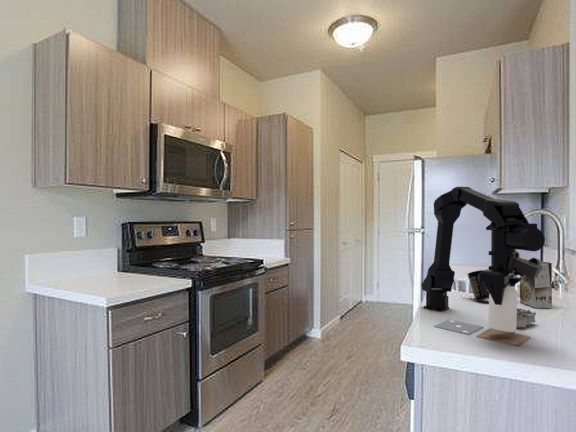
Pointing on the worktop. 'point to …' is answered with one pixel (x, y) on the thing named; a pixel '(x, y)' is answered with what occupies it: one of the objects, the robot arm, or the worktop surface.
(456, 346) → the worktop surface
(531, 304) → the coffee box
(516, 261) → the robot arm
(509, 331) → the can
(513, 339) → the walnut mat
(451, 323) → the slate mat
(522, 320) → the egg carton
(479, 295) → the supplement container
